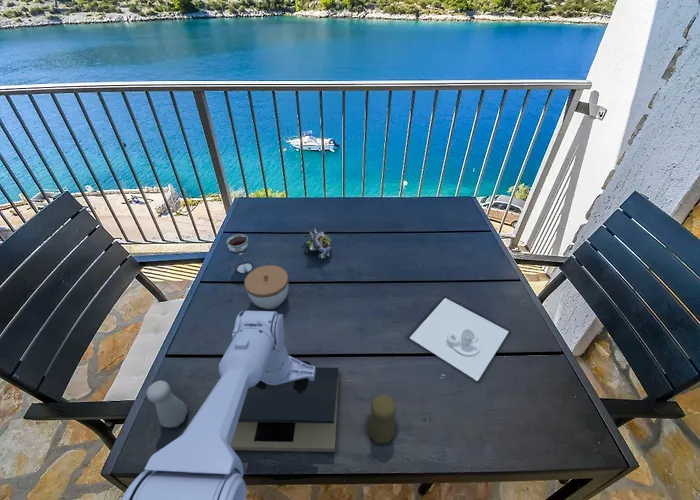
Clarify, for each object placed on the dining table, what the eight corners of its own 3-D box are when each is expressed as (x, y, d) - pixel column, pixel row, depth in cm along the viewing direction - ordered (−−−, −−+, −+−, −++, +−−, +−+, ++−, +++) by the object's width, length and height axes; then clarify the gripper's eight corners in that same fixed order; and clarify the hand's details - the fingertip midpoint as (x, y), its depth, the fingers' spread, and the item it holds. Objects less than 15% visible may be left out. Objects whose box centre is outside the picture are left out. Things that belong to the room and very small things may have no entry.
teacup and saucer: (442, 343, 95) (444, 333, 92) (456, 325, 99) (458, 316, 97) (472, 361, 90) (475, 352, 88) (485, 342, 95) (489, 332, 92)
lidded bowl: (296, 308, 105) (292, 282, 98) (254, 321, 101) (246, 294, 94) (285, 281, 114) (281, 256, 107) (246, 292, 110) (239, 266, 103)
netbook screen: (333, 424, 69) (333, 420, 69) (203, 422, 70) (203, 418, 69) (338, 370, 86) (338, 367, 86) (234, 369, 87) (234, 366, 87)
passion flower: (327, 267, 128) (329, 259, 116) (298, 262, 127) (297, 253, 116) (332, 238, 131) (335, 228, 120) (304, 233, 130) (303, 222, 119)
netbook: (334, 451, 73) (334, 448, 72) (212, 449, 74) (210, 445, 73) (338, 374, 88) (338, 370, 86) (236, 373, 88) (234, 369, 87)
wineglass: (243, 259, 123) (235, 232, 116) (258, 264, 121) (252, 237, 113) (230, 271, 118) (221, 243, 111) (246, 276, 116) (238, 248, 109)
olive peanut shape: (372, 446, 74) (373, 421, 67) (364, 418, 79) (365, 393, 72) (398, 439, 75) (403, 414, 68) (389, 412, 80) (393, 386, 73)
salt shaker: (184, 432, 77) (163, 402, 69) (158, 431, 77) (135, 401, 69) (193, 406, 81) (175, 375, 73) (169, 406, 82) (149, 375, 73)
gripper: (315, 339, 63) (321, 371, 73) (238, 331, 64) (254, 364, 74) (308, 377, 58) (315, 406, 68) (224, 368, 59) (243, 397, 69)
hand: (283, 386), depth 71 cm, fingers open, 7 cm apart
